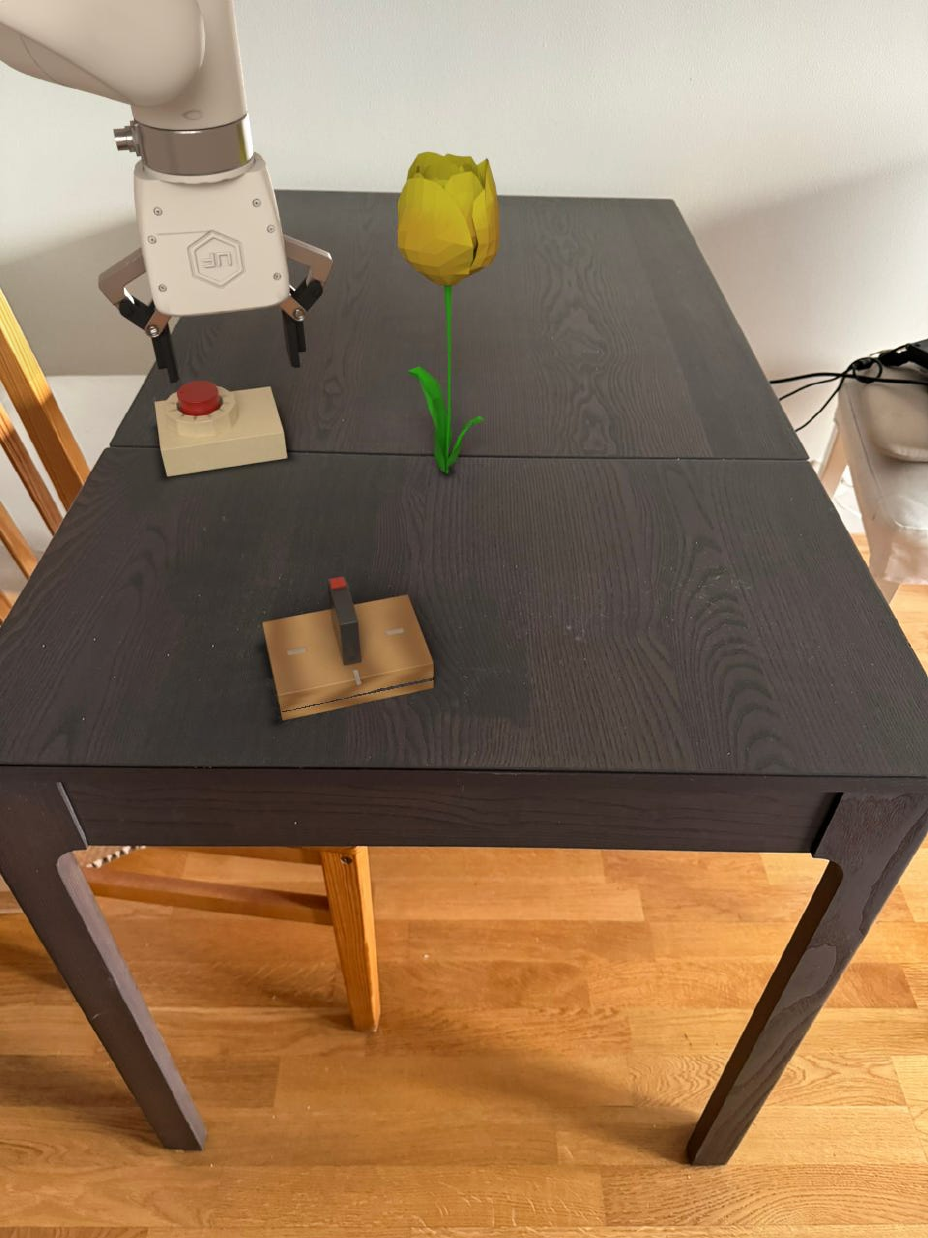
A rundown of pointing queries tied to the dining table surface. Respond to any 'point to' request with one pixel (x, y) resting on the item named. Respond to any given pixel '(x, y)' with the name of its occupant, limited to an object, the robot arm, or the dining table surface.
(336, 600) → the black block
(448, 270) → the flower
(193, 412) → the red button
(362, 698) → the dial panel
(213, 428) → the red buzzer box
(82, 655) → the dining table surface
